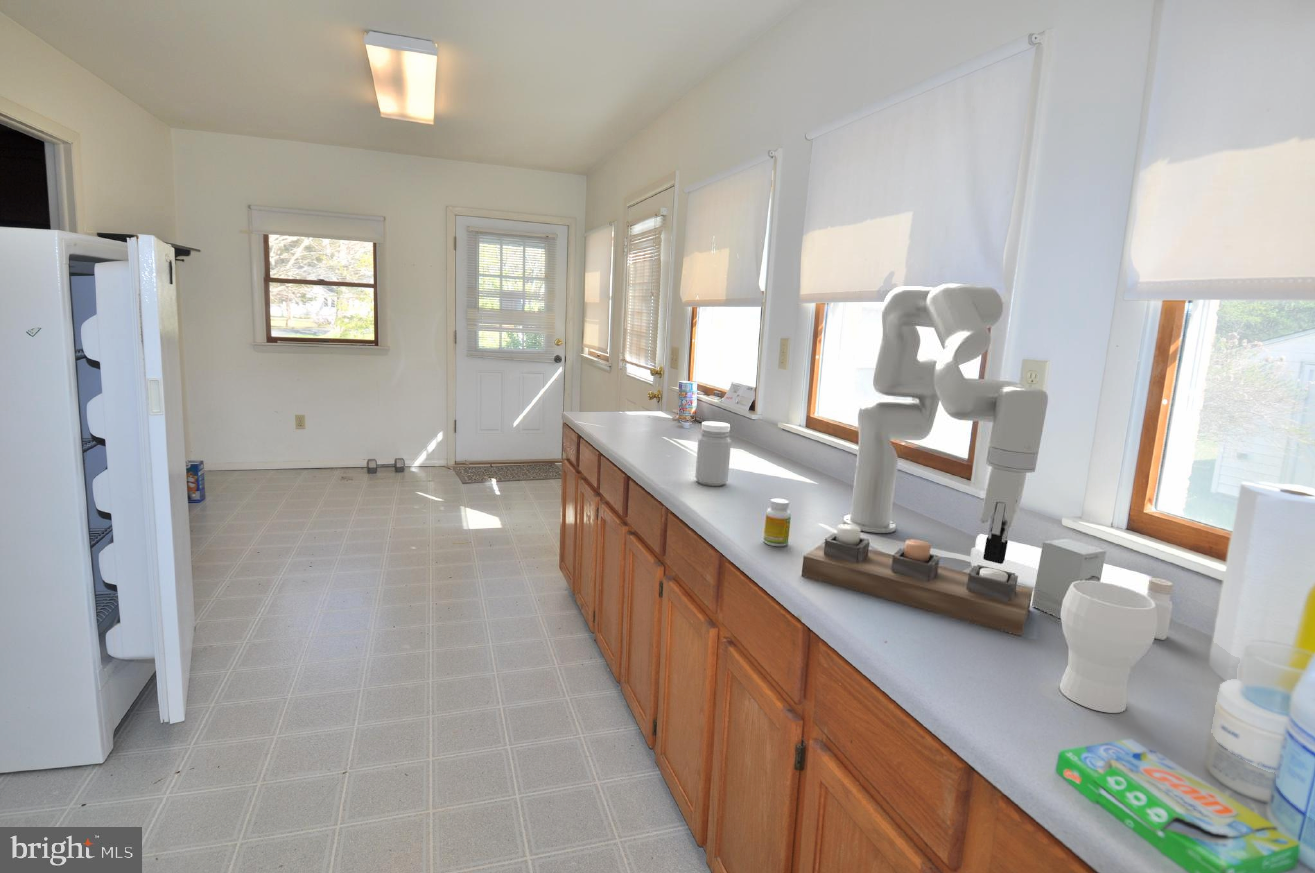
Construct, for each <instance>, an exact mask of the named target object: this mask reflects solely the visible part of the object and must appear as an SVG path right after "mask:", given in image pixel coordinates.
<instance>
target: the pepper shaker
mask: <svg viewBox="0 0 1315 873" xmlns="http://www.w3.org/2000/svg"><path fill="white" fill-rule="evenodd" d="M1173 587H1174V584H1173V583H1172V582H1171V581H1169V580H1166V579H1162V578H1156V577H1151V578H1149V581H1148V584H1147V592H1146V594H1144V595H1145V596H1147V597H1149V598H1150V599H1151V600H1153V601H1154V603H1155V604H1156V613H1157V628H1156V633H1155V637H1154V639H1157V640H1161V641H1163V640H1166V639H1167V636H1168V631H1169V628H1170V627H1169V626H1170V622H1171V619H1172V618H1171V617H1172V612H1173V607H1174V606H1173V603H1172V601H1171V600H1170V598H1171V595H1172V591H1173Z"/></svg>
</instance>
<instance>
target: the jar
mask: <svg viewBox="0 0 1315 873" xmlns="http://www.w3.org/2000/svg"><path fill="white" fill-rule="evenodd" d="M730 430H731V425H730V423H727V422H721V421H713V420H712V421H702V422H701V432H700V433H701V434H700V435H699V436H698V440H697V451H696V463H695V464H696V465H695V475H694V478H695V479H696V481H697V482H698V483H699V484H700V485H702V486H703V485H705V486H710V487H721V486H724V485H725V484H726V483H727V482H728V481H729V480H728V478H729V470H730V469H729V468H730V459H731V458H730V457H731V448H732V447H731V446H732V440H731V439H730V437H729V436H730V433H729V432H730Z"/></svg>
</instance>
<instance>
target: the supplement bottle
mask: <svg viewBox="0 0 1315 873" xmlns="http://www.w3.org/2000/svg"><path fill="white" fill-rule="evenodd" d="M769 505H770V507H769V508H767V510H766V512H765V521H764V523H765V524H764V532H763V543H764V544H766V545H769V546H773V547H785V546H787V545H788V543H789V536H790V528H791V519H792V518H791V517H792V514H791V512H790V510H788V509H789V505H790V501H789V500H787V499H784V498H778V497H777V498H771V499H770V502H769Z"/></svg>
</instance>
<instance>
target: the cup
mask: <svg viewBox="0 0 1315 873" xmlns="http://www.w3.org/2000/svg"><path fill="white" fill-rule="evenodd" d="M1145 595H1146V594H1143V593H1141V592H1138V591H1136V590H1133V589H1130V588H1129V587H1124V586H1122V585H1117V584H1113V583H1108V582H1104V581H1100V582H1097V581H1076V582H1073V583H1072V584H1071V585H1070V587H1069V589H1068V591H1067V593H1066V595H1065V597H1064V599H1063V603H1062V608H1061V619H1060V620H1061V627H1062V628H1061V629H1062V633H1063V636H1064V638H1065V641H1066V644H1067V646H1068V654H1067V655H1068V656H1067V658H1068V659H1067V660H1068V661H1067V664H1068V665H1067V666H1066V668H1065V670H1064V673H1063V675H1062V677H1061V681H1060V684H1059V690H1060V692H1061V693H1062V695H1064V696H1065V697H1066V698H1068V699H1069V700H1070V701H1072V702H1074V703H1077V704H1078V705H1080V706H1082V707H1085V708H1088V709H1090V710H1094V711H1099V712H1102V713H1103V712H1104V713H1107V714H1109V713H1110V714H1118V713H1119V714H1120V713H1123V712H1124V711H1126V708H1127V703H1128V702H1127V700H1128V699H1127V698H1128V697H1127V696H1128V695H1127V694H1128V693H1127V690H1128V688H1127V687H1128V686H1127V683H1128V682H1127V681H1128V678H1129V677H1130V673H1131V670H1132V668H1133V666H1135V665H1136V664H1137V663H1138V662H1139V661H1140V660H1141V659H1142V658H1143V657H1144V656H1145V655H1146V653H1147V652H1148V650H1149V648H1150V647H1151V645H1152V644H1153V643H1154V640H1155V638H1154V637H1155V633H1156V628H1157V613H1156V604H1155V603H1154V601H1153V600H1151V599H1150V598H1149V597H1147V596H1145Z"/></svg>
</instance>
